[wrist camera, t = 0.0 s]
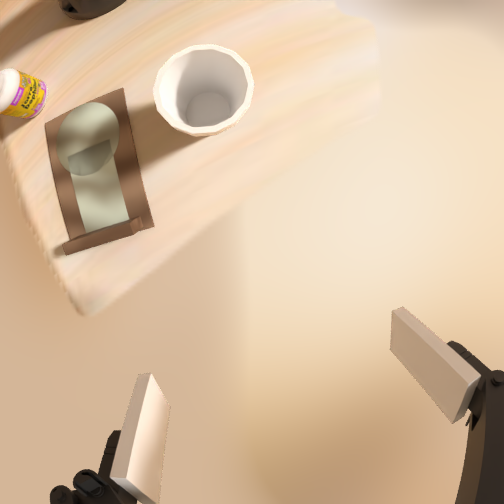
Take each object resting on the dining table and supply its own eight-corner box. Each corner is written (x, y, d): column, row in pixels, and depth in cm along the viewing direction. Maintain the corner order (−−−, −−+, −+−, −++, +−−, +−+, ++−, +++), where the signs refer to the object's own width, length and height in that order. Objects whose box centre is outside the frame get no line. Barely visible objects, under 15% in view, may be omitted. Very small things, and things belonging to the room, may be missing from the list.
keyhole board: (46, 123, 32) (27, 120, 27) (123, 88, 32) (110, 78, 27) (75, 250, 38) (59, 260, 33) (154, 226, 39) (145, 234, 33)
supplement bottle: (44, 118, 31) (-7, 109, 19) (17, 119, 30) (-32, 112, 18) (54, 79, 30) (9, 59, 17) (27, 82, 29) (-19, 66, 16)
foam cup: (174, 147, 36) (152, 137, 23) (173, 85, 33) (154, 50, 21) (244, 143, 37) (256, 130, 24) (242, 81, 34) (252, 43, 22)
